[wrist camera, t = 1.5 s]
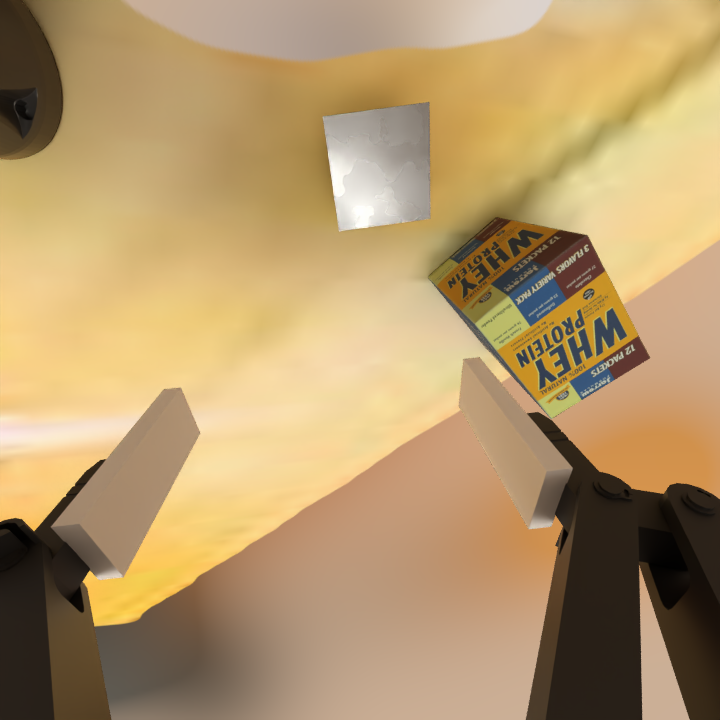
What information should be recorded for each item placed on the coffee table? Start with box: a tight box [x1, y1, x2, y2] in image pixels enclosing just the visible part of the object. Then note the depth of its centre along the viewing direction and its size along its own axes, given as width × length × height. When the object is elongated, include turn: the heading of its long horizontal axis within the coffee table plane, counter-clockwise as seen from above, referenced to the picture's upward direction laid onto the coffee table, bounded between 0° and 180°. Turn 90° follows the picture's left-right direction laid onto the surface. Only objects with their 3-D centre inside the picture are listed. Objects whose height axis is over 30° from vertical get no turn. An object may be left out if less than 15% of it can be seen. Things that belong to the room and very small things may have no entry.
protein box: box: [428, 218, 650, 419], centre depth 35 cm, size 10×15×16 cm
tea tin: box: [323, 102, 430, 231], centre depth 29 cm, size 7×7×12 cm
